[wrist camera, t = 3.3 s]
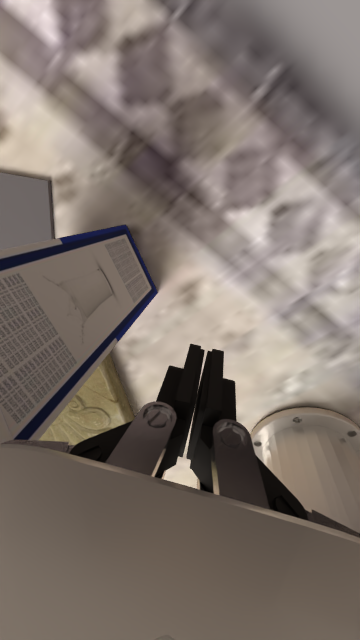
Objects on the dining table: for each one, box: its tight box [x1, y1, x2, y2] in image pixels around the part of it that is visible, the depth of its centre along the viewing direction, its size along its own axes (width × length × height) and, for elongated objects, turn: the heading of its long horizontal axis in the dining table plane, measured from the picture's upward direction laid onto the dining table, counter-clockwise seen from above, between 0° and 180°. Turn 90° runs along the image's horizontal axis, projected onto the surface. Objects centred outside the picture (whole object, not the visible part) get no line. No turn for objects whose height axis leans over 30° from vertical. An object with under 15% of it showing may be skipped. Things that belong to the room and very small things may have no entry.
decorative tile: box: [39, 353, 135, 445], centre depth 32 cm, size 19×20×4 cm
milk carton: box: [0, 225, 158, 444], centre depth 15 cm, size 7×7×20 cm
